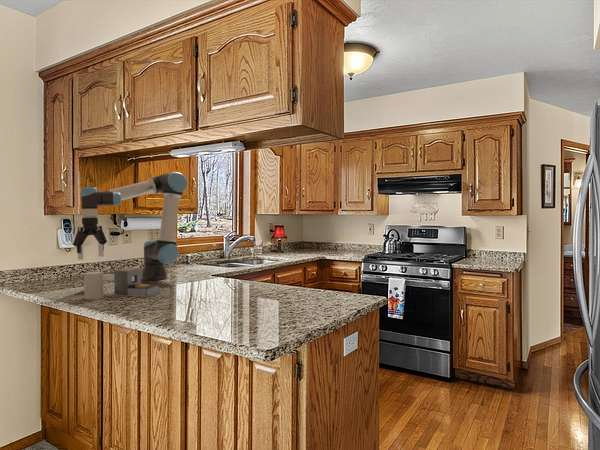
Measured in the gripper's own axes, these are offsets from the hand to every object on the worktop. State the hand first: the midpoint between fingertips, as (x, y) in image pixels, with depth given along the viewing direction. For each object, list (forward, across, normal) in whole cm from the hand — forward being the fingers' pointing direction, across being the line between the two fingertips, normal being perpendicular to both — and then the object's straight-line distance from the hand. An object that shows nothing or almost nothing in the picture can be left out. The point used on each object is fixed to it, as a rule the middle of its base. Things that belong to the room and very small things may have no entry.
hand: (91, 258), depth 221 cm
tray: (+17, 0, +33) cm, 37 cm away
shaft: (+16, 0, +12) cm, 20 cm away
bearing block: (+17, 0, +23) cm, 29 cm away
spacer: (+15, 0, +29) cm, 33 cm away
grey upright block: (+17, +14, +15) cm, 27 cm away
